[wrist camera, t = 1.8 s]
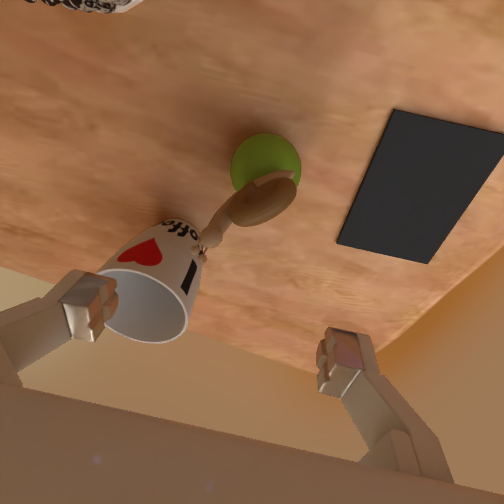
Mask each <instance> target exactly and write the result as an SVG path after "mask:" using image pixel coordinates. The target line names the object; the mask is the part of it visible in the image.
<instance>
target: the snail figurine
mask: <svg viewBox="0 0 504 504" xmlns="http://www.w3.org/2000/svg"><path fill="white" fill-rule="evenodd" d="M230 175H231V180H232V183H233V186H234V188H235V190H236V191H237V192H235V193H234V194H233V195H232V196H231V197H230V198H229V199H228V200H227V201H226V202H225V203H224V204H223V205H222V206H221V207H220V208H219V209H218V210H217V212H216V213H215V214H214V216H213V217H212V219H211V221H210V223H209V225H208V226H207V227H206V228H205V229H204V230H203V231H202V232H201V234H200V240H199V242H198V243H197V245H196V246H192V247H191V249H190V251H191V253H192V254H193V255H197V254H199V252H200V248H199V247H198V244H199V243H201V244H202V246H204V247H206V249H205V251H204V253H203V254H200V255H199V256H198V257H197V259H198V262H199V263H201V264H203V263H205V262H206V260H207V257H206V256H205V255H204V254H205V252H206V250H207V249H208V248H214V247H216V246H218V245H219V244H220V243H221V241H222V238H223V234H224V232H225V231H226V230H227V229H228V227H229V226H230V224H231V223H232V222H233V223H234V224H236V225H238V226H241V227H249V226H255V225H259V224H261V223H264V222H266V221H268V220H270V219H272V218H274V217H275V216H277V215H278V214H280V213H281V212H282V211H284V210H285V209H286V208H287V207H288V206H289V205H290V204H291V202H292V201H293V200H294V198H295V196H296V192H297V186H298V184H299V181H300V177H301V161H300V158H299V155H298V153H297V151H296V149H295V148H294V146H293V145H292V144H291V143H290V142H289V141H288V140H286V139H285V138H283V137H281V136H279V135H276V134H272V133H260V134H256V135H253V136H251V137H249V138H247V139H246V140H245V141H243V142H242V143H241V144H240V145H239V147H238V148H237V149H236V151H235V153H234V155H233V157H232V160H231V166H230Z"/></svg>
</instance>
